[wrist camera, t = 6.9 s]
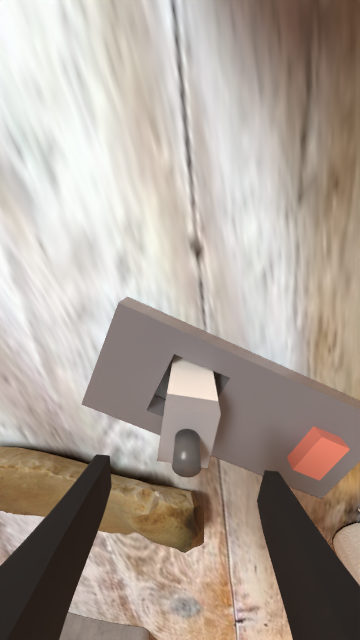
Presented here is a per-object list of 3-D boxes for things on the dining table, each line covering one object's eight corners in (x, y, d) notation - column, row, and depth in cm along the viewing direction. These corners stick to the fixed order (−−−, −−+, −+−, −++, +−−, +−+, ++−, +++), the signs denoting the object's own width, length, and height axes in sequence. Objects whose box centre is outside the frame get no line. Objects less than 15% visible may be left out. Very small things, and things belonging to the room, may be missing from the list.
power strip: (373, 406, 17) (410, 437, 14) (308, 475, 20) (328, 512, 17) (127, 296, 15) (112, 306, 12) (93, 388, 18) (74, 413, 15)
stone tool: (220, 472, 20) (-36, 413, 19) (224, 529, 16) (-90, 458, 16) (192, 525, 25) (-11, 479, 24) (190, 578, 21) (-49, 524, 21)
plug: (210, 359, 16) (225, 440, 9) (202, 399, 18) (209, 499, 10) (174, 353, 17) (160, 430, 9) (168, 394, 18) (152, 490, 11)
